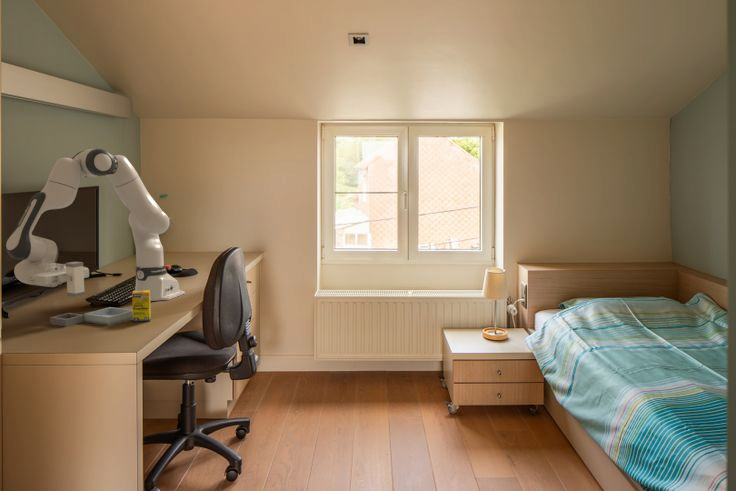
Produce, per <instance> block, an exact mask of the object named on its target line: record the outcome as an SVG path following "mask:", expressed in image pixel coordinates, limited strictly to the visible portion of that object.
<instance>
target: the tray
mask: <svg viewBox="0 0 736 491" xmlns="http://www.w3.org/2000/svg"><path fill="white" fill-rule="evenodd" d="M83 315H84V319H85V322H84V323H89V322H90V324H97V325H103V326H113V325H115V324H119V323H122V322H125V321H129V320H133V309H127V308H126V309H125V308H120V307H119V308H118V307H111V306H109V307H105V308H101V309H97V310H94V311H89V312H86V313H84V314H83Z"/></svg>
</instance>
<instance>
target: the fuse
mask: <svg viewBox="0 0 736 491" xmlns="http://www.w3.org/2000/svg"><path fill="white" fill-rule="evenodd" d="M64 264H65V267H66V276H72V281H70V282H66V289H67V290H66V296H67V297H74V298H77V297H82V296H85V295H86V290H85V278H84V274H83V267H84V262H82V261H70V262H64Z"/></svg>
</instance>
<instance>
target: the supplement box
mask: <svg viewBox="0 0 736 491" xmlns="http://www.w3.org/2000/svg"><path fill="white" fill-rule="evenodd" d="M131 296H132V297H131V300H132V310H133V319H132V322H133V323H143V322H145V323H146V322H147V323H148V322H151V318H152V316H151V315H152V313H151V312H152V311H151V307H152V306H151V302H152V301H150V290H138V291H136V290H135V289H134V290H133V291H132V293H131Z"/></svg>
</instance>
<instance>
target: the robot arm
mask: <svg viewBox="0 0 736 491" xmlns="http://www.w3.org/2000/svg"><path fill="white" fill-rule="evenodd" d="M99 177H106V178H107V179H108V180H109V181H110V183H111V185H112V187H113V189H114V191H115V193H116V194H117V196H118V197H119V200H120V201H121V202H122V204H123V205H124V206H125V207H126V209H128V211H129V212H130V213H129V215H128V223H129V226H130V228H131V233H132V236H133V237H132V238H133V241H134V246H135V257H136V258H135V259H136V266H135V275H136V278H135V288H134V290H136V291H138V290H150V302H155V301H157V302H158V301H169V300H172V299H174V298H178V297H179V296H183V295H185V294H186V292H185V291H184V290H182V289H180V284H179V281H178V280H177V279H176V278H174V277H173V276H172V275H170V274H169V273H168V271H170V270H171V269H172V265H170V264H169V265H168V264H166V265H165V264H164V246H163V245H162V242H161V240H160V239H161V238H160V236H159V235H162V234H164V233H166V231H168V229H169V227H170V225H171V223H170V217H169V216H168V215H167V213H165V212H164V211H163V210H162V209H161V207H160V206H159V204H158V203H157V202H156V201H155V199H154V198H153V197H152V196H151V193H150V192H148V190H147V187H146V186H145V184H144V182H143V181H142V178H141V177H140V175H139V174H138V172H137V170H136V169H135V166H133V164H132V163H131V162H130V160H129V159H128V158H127V157H126V156H124V155H122V154H116V155H113V154H111V153H110V152H109V151H107V150H105V149H102V148H89V149H85V150H82V151H79V152H78V153H76V154H75V155H73V157H71V158H70V157H61V158H58V159H57V160H56V162H55V163H54V165H53V166H52V168H51V170H50V173H49V176H48V178H47V180H46V183H45V185H44V187H43V188H42V189H41V191H38V192H36V193H35V194H34V195H33V196H32V197H31V199H30V200H29V202H28V204H27V205H26V208H25V209H24V212H23V214H22V215H21V217H20V219H19V221H18V222H17V225H16V227H15V228H14V229H13V231H12V233H11V234H10V235H9V237H8V238H7V240H6V243H5V250H6V252H7V254H8V256H9V257H10V258H12V259H14V260H21V261H20V262H18V263H17V264H15V266H14V270H13V272H14V276H15V278H16V280H19V281H20V282H21V283H23V284H27V285H31V286H40V287H49V288H54V287H55V288H56V287H57V286H59V285H62V284H63V283H67V282H70V281H72V276H66V267H65V263H57V260H58V258H59V247H58V245H57V242H56V241H54V240H52V239H50V238H49V239H48V238H44V237H41V236H37V235H33V234H32V233H33V231H34V229H35V227H36V225H37V223H38V221H39V219H40V217H41V215H42V214H43V213H44V212H46V211H49V210H59V209H64V208H67V207H69V206H70V205H72V204H73V202H74V201H75V199H76V198H77V193H78V191H79V186H80V183H81V181H82V180H83V179H84V178H99ZM167 270H168V271H167ZM83 274H84V279H87V278H89V277H90V269H89V268H88V267H87V266H83Z"/></svg>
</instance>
